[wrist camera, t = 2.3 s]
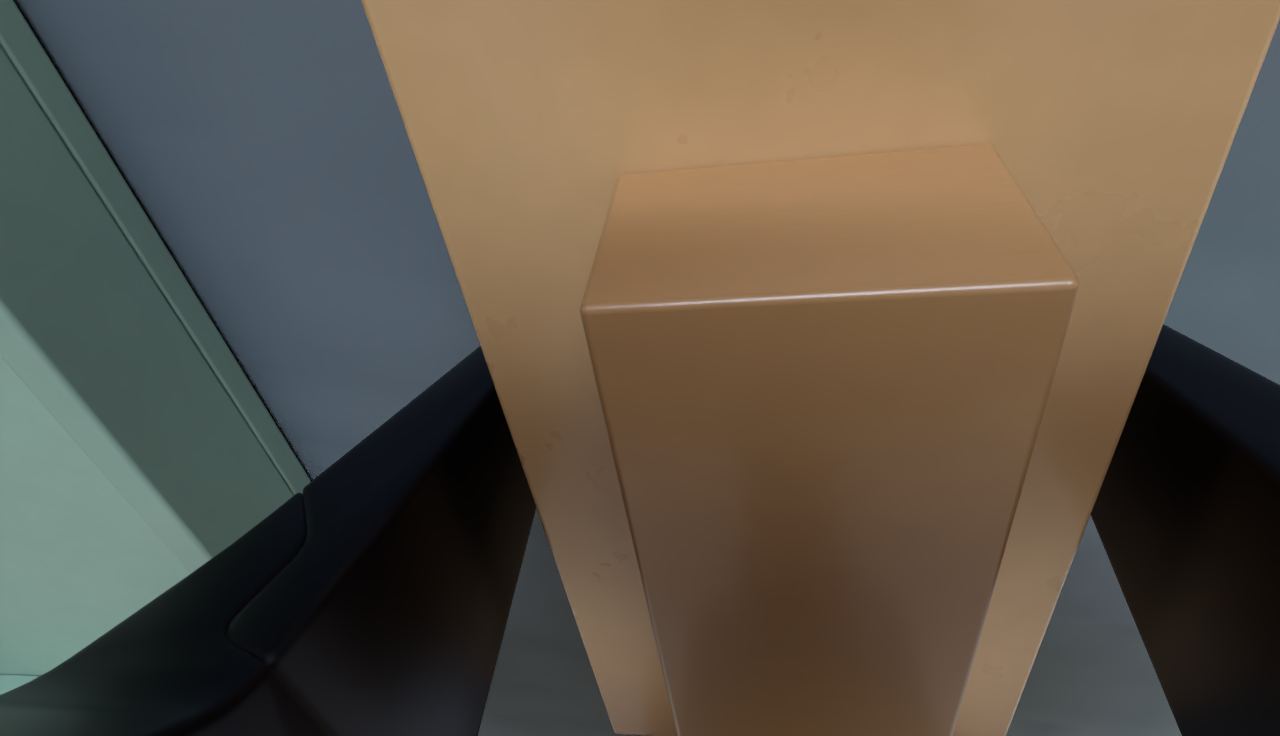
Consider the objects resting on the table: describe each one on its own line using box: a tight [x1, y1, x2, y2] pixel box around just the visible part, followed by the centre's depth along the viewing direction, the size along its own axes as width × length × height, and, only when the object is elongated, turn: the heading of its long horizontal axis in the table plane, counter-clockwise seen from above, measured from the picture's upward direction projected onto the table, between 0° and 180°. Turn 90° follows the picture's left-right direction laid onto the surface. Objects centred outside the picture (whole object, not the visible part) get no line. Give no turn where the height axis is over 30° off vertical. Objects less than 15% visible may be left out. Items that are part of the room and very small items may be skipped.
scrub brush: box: [361, 0, 1280, 736], centre depth 8 cm, size 10×5×5 cm, turn 8°
